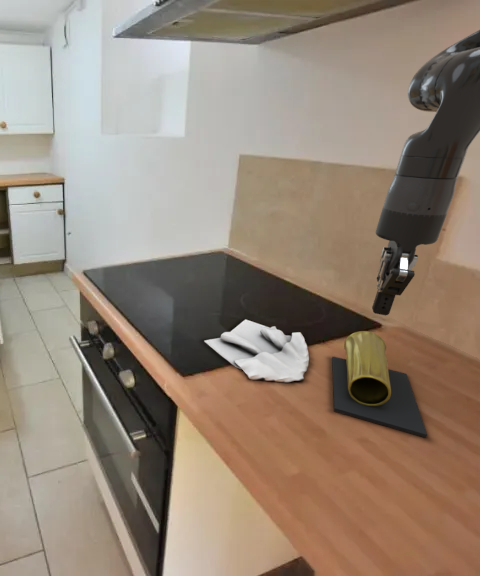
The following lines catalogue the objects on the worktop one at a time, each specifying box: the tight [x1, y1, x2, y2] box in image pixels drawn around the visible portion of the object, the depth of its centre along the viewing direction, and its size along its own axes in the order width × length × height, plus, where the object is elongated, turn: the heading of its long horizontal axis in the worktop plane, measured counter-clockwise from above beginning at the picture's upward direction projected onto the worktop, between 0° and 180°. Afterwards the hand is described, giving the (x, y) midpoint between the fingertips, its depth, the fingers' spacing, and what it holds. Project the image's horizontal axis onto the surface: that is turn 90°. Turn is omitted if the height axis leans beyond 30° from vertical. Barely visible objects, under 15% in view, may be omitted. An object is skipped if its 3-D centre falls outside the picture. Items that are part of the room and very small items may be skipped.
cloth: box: [203, 318, 310, 384], centre depth 73 cm, size 20×22×2 cm
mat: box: [331, 356, 428, 438], centre depth 61 cm, size 11×16×1 cm
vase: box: [343, 330, 391, 406], centre depth 62 cm, size 6×6×14 cm
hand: (379, 312), depth 63 cm, fingers closed
